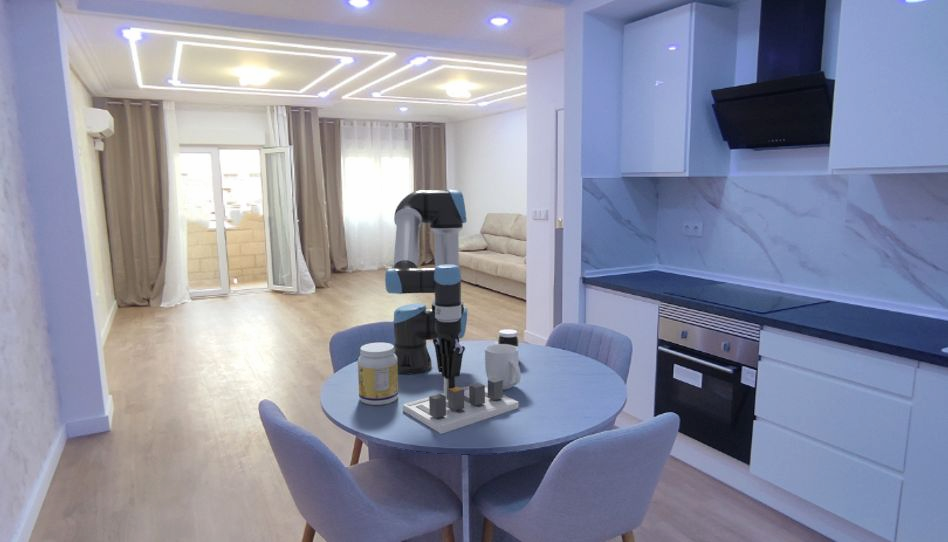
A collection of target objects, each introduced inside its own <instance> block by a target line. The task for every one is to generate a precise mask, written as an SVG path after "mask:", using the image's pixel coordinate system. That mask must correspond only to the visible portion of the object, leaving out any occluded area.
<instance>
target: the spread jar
mask: <svg viewBox="0 0 948 542" xmlns="http://www.w3.org/2000/svg"><path fill="white" fill-rule="evenodd" d="M498 331H499V332H498V335H499V336H498V339H497V341H494V342H493V343H492V345H494V344H508V345H513V346H516V347H517V348H518V349H519V338H518V331H517V330H515V329H501V330H498Z"/></svg>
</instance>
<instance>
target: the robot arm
mask: <svg viewBox="0 0 948 542" xmlns="http://www.w3.org/2000/svg"><path fill="white" fill-rule="evenodd" d="M464 199H465V198H464V194H463V192H462V191H460V190H458V189H457V190H455V189H435V190H434V189H431V190H430V189H427V190H426V189H425V190H424V189H420V190H415V191H413V192H410V193H409V194H407V195H406V196H405V197H404V198H402V199H401V201H399V203H398V205H397V206H396V209H395V211H394V215H393V216H394V217H393V222H394V224H395V225H396V229H395V243H394V256H393V267H392V268H388V269H386V270H385V275H384V276H385V277H384V278H385V279H384V281H385V283H384V284H385V290H386V292H387V293H389V294H397V295H402V294H434V300H433V301H432V302H431V307H427V306H426V304H425V303H419V302H418V303H411V304H405V305H403V306H402V305H400V306H399V307H397V308H396V309H395V310H394V312H393V322H392V323H393V331H394V332H393V334H394V338H393V339H394V340H393V341H394V350H395V352H394V354H395V355H396V356H397V360H398V361H397V364H398V374H401V375H402V374H403V375H405V374H406V375H415V374H421V373H424V372H427V371H430V370H431V368H432V367H433V366H432V358H431V356H430V353H429V350H428V348H427V341H429V340H430V341H431V340H432V343H433V346H434V350H435V357H436V363H437V370H438V372H439V373H441V376H442V377H443V379H442V384H443V393H444V396H446V400H448V390H449V389H450V388H454V387H456V382H455V381H456V379H455V378H457V377H460V375H461V368H462V363H463V362H462V361H463V355H464V352H465V351H466V346H464V345H461V344H460V339H463V338H464V336H465V334H466V331H467V330H466V329H467V323H468V307H466V306H464V302H463V301H462V300H461V299H462V288H461V287H462V274H461V267H460V265H459V264H460V263H459V262H460V260H459V259H460V256H459V255H460V252H459V251H460V249H459V248H460V246H459V245H460V243H459V233H460V231H461V230H462V229H463V224H465V223H467V221H468V220H467V212H466V205H465V200H464ZM422 224H429V228H430V230H431V231H432V232H433V234H434V266H435V267H419V247H420V246H419V243H420V242H419V239H420V238H419V237H420V227H421V226H422Z"/></svg>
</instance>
